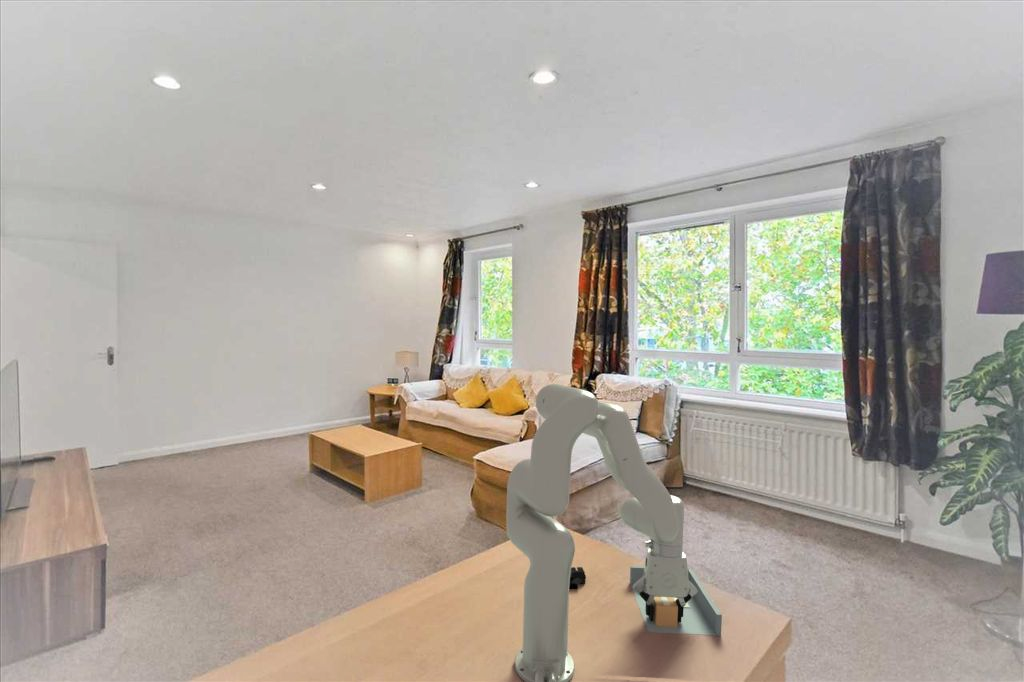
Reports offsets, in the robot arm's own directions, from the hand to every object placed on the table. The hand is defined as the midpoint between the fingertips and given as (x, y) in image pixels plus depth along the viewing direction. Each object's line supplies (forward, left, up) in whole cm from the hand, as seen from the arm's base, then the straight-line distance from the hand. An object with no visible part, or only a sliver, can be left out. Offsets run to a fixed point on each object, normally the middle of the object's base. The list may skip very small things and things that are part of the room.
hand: (664, 617), depth 120 cm
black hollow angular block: (+16, +20, -2) cm, 26 cm away
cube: (0, 0, -1) cm, 1 cm away
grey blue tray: (+6, -3, -1) cm, 7 cm away
